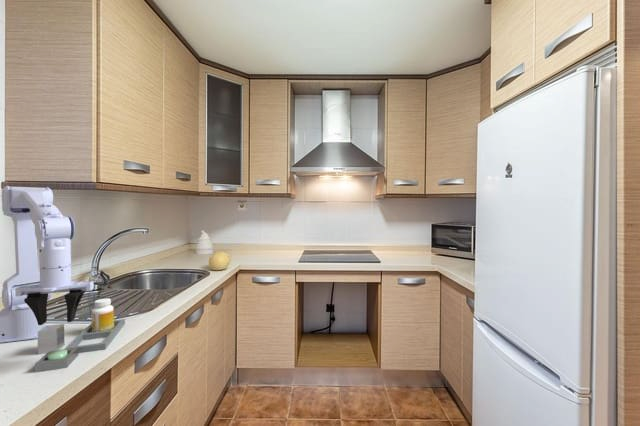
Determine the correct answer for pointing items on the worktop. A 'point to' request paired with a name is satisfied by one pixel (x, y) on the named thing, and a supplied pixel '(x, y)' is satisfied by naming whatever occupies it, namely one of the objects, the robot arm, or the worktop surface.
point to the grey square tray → (56, 361)
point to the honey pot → (204, 244)
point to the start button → (57, 354)
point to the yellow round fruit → (219, 261)
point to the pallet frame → (87, 335)
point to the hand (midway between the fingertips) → (57, 322)
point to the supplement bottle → (102, 316)
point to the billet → (50, 338)
